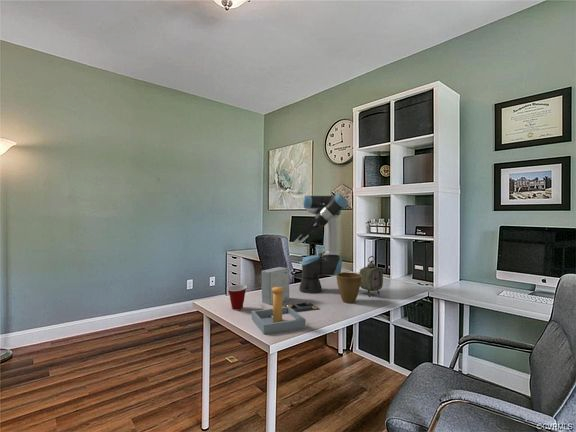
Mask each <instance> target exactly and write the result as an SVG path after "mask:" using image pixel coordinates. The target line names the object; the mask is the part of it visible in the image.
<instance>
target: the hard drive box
mask: <svg viewBox="0 0 576 432" xmlns="http://www.w3.org/2000/svg"><path fill="white" fill-rule="evenodd" d="M273 287H283V288H284V291H283V292H282V303H283V302H286V301H290V268H289V267H288V268H287V267H282V266H279V267H272V268H269V269H265V270H261V303H263V304H266V305H269V306H271V305H272V306H273V292H272V288H273Z"/></svg>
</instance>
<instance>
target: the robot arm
mask: <svg viewBox="0 0 576 432" xmlns="http://www.w3.org/2000/svg"><path fill="white" fill-rule="evenodd" d="M348 201H349V200H348V199H347V198H346V197H344V195H342V193H339V192H338V193H337V194H332V195H304V196H303V204H302V205H303V208H304V209H305V210H306V211H307V212H308V213H309V214H312V215H314V218H315V220H316V221H313V222H311V224H310V225H309V226H308V228H306V229H305V230H304V231H303V232H300V235H299V236H298V237H297V238H296V239H295V240H294V241H293V242H292V243H293V244H294V245H295V246H299V244H302V243H303V242H305V240H306V239H307V238H309V237H311V236H312V233H314V232H315V231H316V230H317V229H319V227H320V225H321V226H323V227H324V237H323V239H324V253H323V254H322V257H320V255H316V254H314V255H307V256H305V257H303V258H302V260H301V262H302V263H301V266H302V267H301V280H300V284H299V291H300V292H301V293H304V294H317V293H320V292H322V291H323V287H322V284H321V281H320V276H332V277H333V276H336V274H338V273H342V272H341V271H342V267H343V266H342V265H343V258H341V257H340V256H341V255H340V254H339V253H338V230H337V229H338V228H337V226H338V223H337V220H338V218H339V216H340V215H341V214H342V209H343V208H345V207H346V205H348V203H349V202H348Z"/></svg>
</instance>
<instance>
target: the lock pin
mask: <svg viewBox="0 0 576 432" xmlns="http://www.w3.org/2000/svg"><path fill="white" fill-rule="evenodd" d="M283 291H284V288H283V287H273V288H272V292H273V304H272V309H273V314H272V318H273V323H275V322H282V321H283V313H282V307H283V302H282V292H283Z"/></svg>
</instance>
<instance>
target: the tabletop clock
mask: <svg viewBox="0 0 576 432" xmlns="http://www.w3.org/2000/svg"><path fill="white" fill-rule="evenodd" d="M371 258H373V260H370V259H371ZM367 259H368V260H367V261H368V263H367V266H364V267H362V268H360V269H359V273H358V274H360V275H362V278H361V284H360V288H361V289H362V290H367V291H366V294H367V297H371V296H372V295H371V292H377V294H378V295H379V294H381V291H379V290H381V289H382V288H383V283H384V270H383V268H382V267H377V266H376V264H375V263H374V262H375V259H376V258H375V257H374V256H373V255H371V256H369V257H368V258H367Z"/></svg>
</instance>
